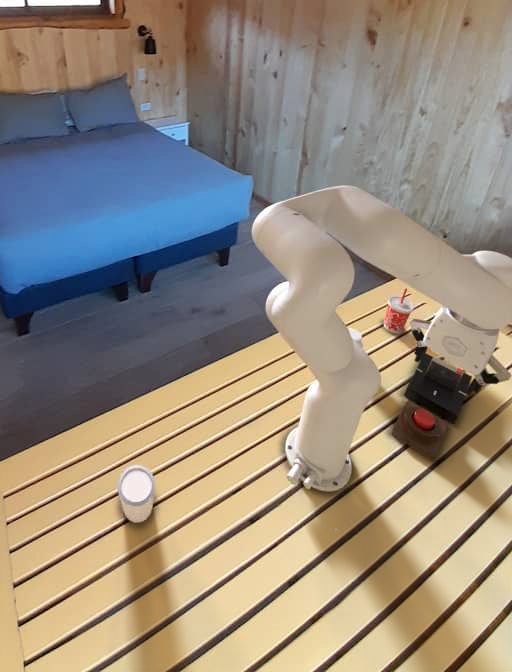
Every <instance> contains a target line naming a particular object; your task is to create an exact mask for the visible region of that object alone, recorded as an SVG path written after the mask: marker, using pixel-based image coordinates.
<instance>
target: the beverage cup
mask: <svg viewBox="0 0 512 672" xmlns="http://www.w3.org/2000/svg"><path fill="white" fill-rule="evenodd" d="M407 291H408V288H404V291H403V294H402V296H401V295H392V296H389V298H388V299H387V304H388V305H387V309H386V311H385V312H386V313H385V317H384V321H383V327H384V329H385V330H386V331H388V332H389V333H391V334H397V335H398V334H401V333H402V332H403V330H404V328H405V326H406V324H407V322H408V320H409V318H410V316H411V313H412V312H413V311H414V309H415V305H414V304H413V302H412V301H410V299H408V298H406V294H407Z"/></svg>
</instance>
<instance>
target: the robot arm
mask: <svg viewBox="0 0 512 672" xmlns="http://www.w3.org/2000/svg"><path fill="white" fill-rule="evenodd" d="M251 227H252V228H251V237H252V241H253V243H254V245H255V247H256V248H257V249H258V250H259V252H260V253H261V254H262V255H263V256H264V257H265V258H266V259H267V260H268V261H269V262H270V264H272V266H274V268H275V269H276V270H277V271H278V272H279V273H280V274H281V276H282V277H284V278H285V280H286V281H284V282H281V283H280V284H278V285H276V286H275V287H274V288H273V289H272V290H271V291H270V293H269V295H268V296H267V298H266V303H265V313H266V316H267V319H268V320H269V322H270V323H271V324H272V325H273V327H274V328H275V329H276V330H277V332H278V333H279V335H281V337H282V338H283V339H284V341H285V342H286V343H287V344H288V346H289V347H290V349H292V351H293V352H294V353H295V354H296V355H297V356H298V357H299V358H300V359H301V360H302V362H303V363H304V364H305V366H306V367H307V368H308V370H309V371H310V372H311V374H312V375H313V376H314V378H315V379H316V381H314V382H313V383H311V385H310V386H309V387H308V388H307V390H306V393H305V397H304V402H303V406H302V410H301V414H300V418H299V421H298V422H299V423H298V425H297V427H295V428H294V429H293V430H291V431H290V433H288V435H287V438H286V441H285V450H284V451H285V456H286V460H287V462H288V464H289V467H290V468H291V469H290V470H289V472H288V473H287V475H286V479H287V481H288V482H289V483H290V484H292V485H294V486H295V485H297V484H298V482H299V480H301V481H302V484H303V486H304V487H305V488H306V489H308V490H310V489H311V488H313V489H315V490H318V491H322V492H336V491H339V490H341V489H343V488H344V487H345V486H346V485H347V484H348V482H349V480H350V478H351V475H352V468H353V467H352V466H353V465H352V461H351V457H350V454H349V453H350V449H351V447H352V443H353V440H354V437H355V435H356V433H357V429H358V426H359V423H360V421H361V418H362V416H363V413H364V412H365V409H366V407H367V406H368V404H369V403H370V401H371V400H372V399H373V397H374V396H375V395H376V394H377V392H378V390H379V389H380V387H381V383H382V376H381V372H380V370H379V367H378V366H377V365H376V362H374V361H373V359H372V358H371V356H370V355H369V354H368V353H367V352H366V351H365V350H364V349H363V348H361V347H360V346H359V345H358V344H357V343H356V342H355V341H354V340H353V339H352V337H351V335H350V332H349V330H348V327H347V324H346V322H344V320H343V319H342V318H341V317H340V315H339V314H338V313H337V311H336V310H337V309H338V308H339V306H340V305H341V304H342V303H343V301H344V300H345V299H346V298H347V296H348V294H349V293H350V292H351V290H352V288H353V285H354V281H355V275H356V274H355V267H354V264H353V261H352V258H351V256H350V254H349V253H348V251H347V250H346V249H348V250H350V251H351V252H352V253H354V255H356V256H358V257H359V258H360V259H362V260H363V261H365V262H367V263H368V264H370V265H371V266H374V267H376V268H378V269H380V270H381V271H383V272H385V273H387V274H389V275H391V276H393V277H394V278H396V279H398V280H399V281H401V282H403V283H405V284H406V285H407V286H409V287H411V288H412V289H414V290H415V291H416V292H418V293H420V294H422V295H424V296H426V297H428V298H429V299H431V300H433V301H435V302H437V303H438V304H440V305H442V307H441V308H439V310H437V312H436V314H435V315H434V317H433V319H432V321H430V320H424V319H418V318H412V319H410V321H409V324H410V328H411V335H412V336H413V338H414V340H415V345H416V348H415V350H414V352H413V354H414V355H415V357H414V362H415V363H420V361H421V359H422V358H423V357H424V356H425V354H427V352H428V349H429V350H431V351H432V352H434V353H436V354H437V355H439V356H440V357H443V359H444V360H447V361H449V362H450V363H451V364H453V365H454V366H457V368H459V369H461V370H463V371H464V372H466V373H468V374H471V375H473V377H474V378H472V380H471V381H470V384H469V387H468V390H467V392H466V396H468V397H471V395H472V394H473V393H475V394H479V392H480V391H481V389H482V387H483V386H484V385H497V384H499V383H503V382H507V381H509V380H510V379H511V378H512V374H511V372H510V371H509V370H508V369H507V368H506V367H505V366H504V365H503V364H502V363H501V362H500V361H499V360H498V359H497V358H496V357H495V356H494V352H495V349H496V346H497V343H498V340H499V335H500V329H503V328H505V327H507V326H509V325H510V324H512V257H510V256H508V255H505V254H504V253H500V252H498V251H491V250H479V251H476V252H474V253H471V254H462V253H460V252H459V251H457V250H456V249H454V247H452V246H450V245H449V244H447V243H446V242H445V241H443V239H441V238H439V237H437V235H435V234H433V233H431V232H430V231H429V230H427V229H426V228H424V227H423V226H422V225H420V224H419V223H418V222H416V221H414V220H413V219H411V217H409V216H407V215H406V214H404V213H403V212H401V211H400V210H398V209H397V208H395V207H393V206H391V205H389V204H388V203H386V202H384V201H383V200H381V199H379V198H377V197H375V196H374V195H372V194H371V193H368V192H367V191H365V190H364V189H362V188H360V187H358V186H354V185H336V186H331V187H327V188H322V189H319V190H315V191H311V192H308V193H305V194H302V195H298V196H294V197H292V198H288V199H285V200H281V201H278V202H277V203H273V204H271V205H270V206H268V207H266V208H264V209H263V210H262V211H261V212H260V213H259V214H258V215H257V216H256V218H255V219H254V221H253V223H252V226H251ZM343 246H345V247H346V249H345V247H343ZM422 329H424V330H426V332H425V334H424V332H423V331H422ZM487 365H489V366H490V368H491V369H492V370H493V371H494V373H491V372H490V373H489V370H488V368H487ZM495 372H496V373H495Z"/></svg>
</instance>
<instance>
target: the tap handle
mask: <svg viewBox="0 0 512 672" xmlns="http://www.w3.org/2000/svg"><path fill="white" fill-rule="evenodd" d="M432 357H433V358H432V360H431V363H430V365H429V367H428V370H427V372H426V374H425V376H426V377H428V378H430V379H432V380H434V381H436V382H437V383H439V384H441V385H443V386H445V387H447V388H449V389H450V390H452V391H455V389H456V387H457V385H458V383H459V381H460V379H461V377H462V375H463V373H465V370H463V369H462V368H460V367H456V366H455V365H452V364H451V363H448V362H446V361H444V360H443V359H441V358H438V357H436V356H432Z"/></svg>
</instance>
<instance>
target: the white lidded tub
mask: <svg viewBox="0 0 512 672" xmlns="http://www.w3.org/2000/svg"><path fill="white" fill-rule="evenodd" d="M117 492H118V496H119V499H120V504H121V508H122V511H123V513H124V516H125V517H126V518H127V520H128V521H130V522H133V523H142V522H144V521H146V520H147V519H148V518H149V517H150V515H151V513H152V510H153V506H154V499H155V493H156V479H155V477H154V475H153V472H152V471H151V470H150V469H149V468H148V467H146V466H144V465H141V464H132V465H130V466H128V467H127V468H125V469H124V470H123V472H121V474H120V476H119V477H118V480H117Z"/></svg>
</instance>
